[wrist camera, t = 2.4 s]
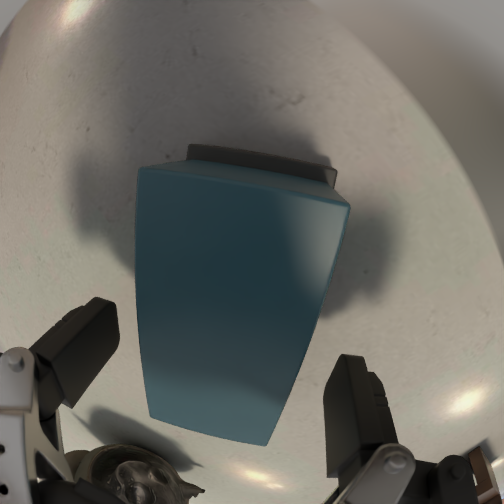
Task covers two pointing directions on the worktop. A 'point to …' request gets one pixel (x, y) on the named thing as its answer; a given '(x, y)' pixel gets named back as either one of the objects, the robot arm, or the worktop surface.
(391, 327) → the worktop surface
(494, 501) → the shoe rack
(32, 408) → the robot arm
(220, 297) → the teal eraser block
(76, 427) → the worktop surface
